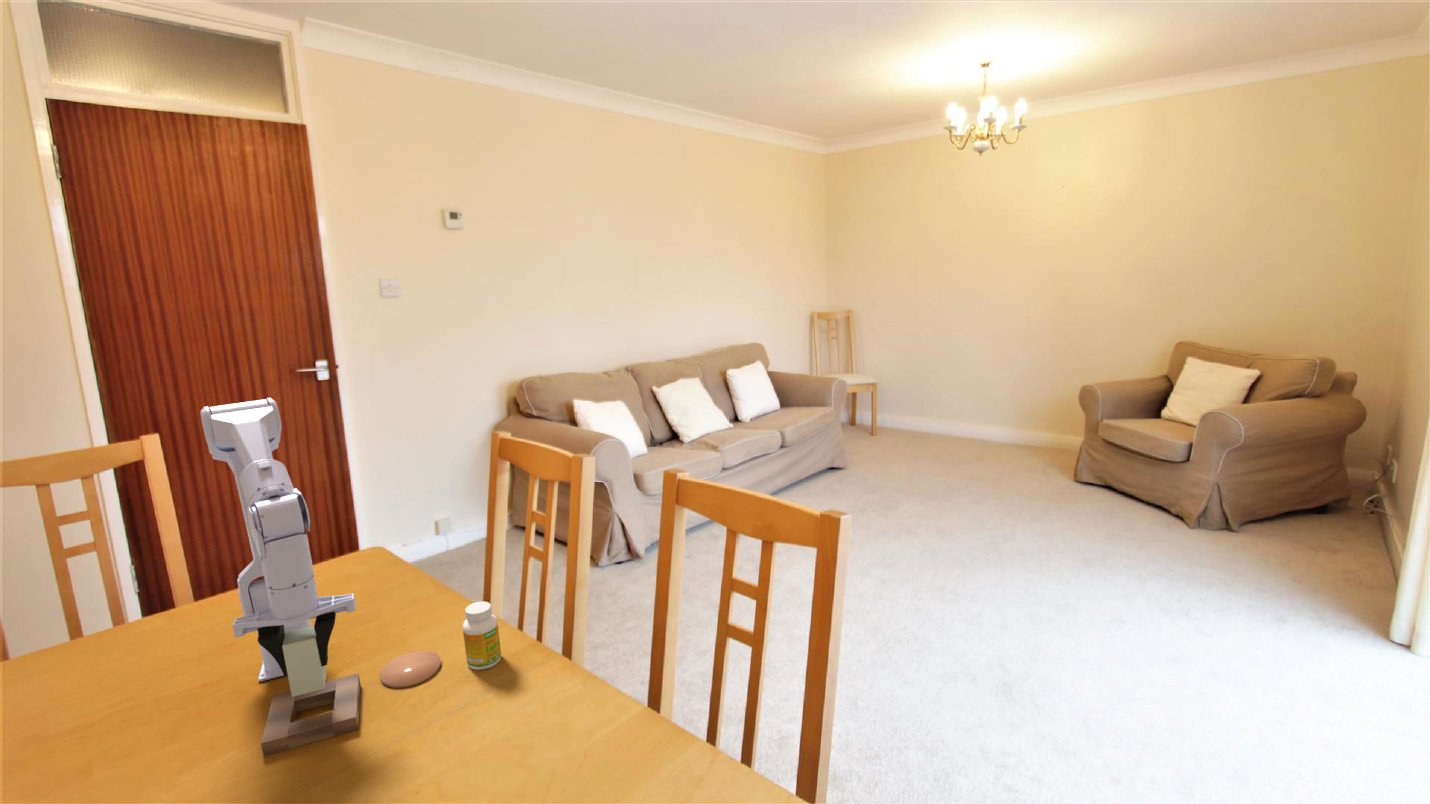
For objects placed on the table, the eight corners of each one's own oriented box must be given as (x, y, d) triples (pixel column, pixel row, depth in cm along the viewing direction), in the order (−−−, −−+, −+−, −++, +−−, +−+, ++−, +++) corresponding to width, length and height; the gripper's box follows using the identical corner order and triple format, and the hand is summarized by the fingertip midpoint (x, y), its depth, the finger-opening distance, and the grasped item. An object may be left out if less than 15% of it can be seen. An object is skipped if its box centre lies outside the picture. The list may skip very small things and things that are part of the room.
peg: (295, 681, 98) (285, 631, 97) (326, 673, 100) (317, 624, 98) (291, 697, 95) (282, 646, 93) (324, 688, 96) (315, 638, 95)
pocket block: (275, 707, 101) (273, 695, 101) (360, 684, 106) (358, 673, 106) (263, 756, 91) (260, 743, 91) (358, 729, 96) (356, 716, 95)
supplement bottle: (490, 672, 108) (484, 617, 106) (460, 669, 109) (453, 614, 107) (507, 653, 113) (501, 600, 111) (478, 650, 114) (472, 597, 112)
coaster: (380, 663, 111) (379, 660, 111) (438, 648, 115) (438, 645, 115) (380, 694, 103) (379, 691, 103) (443, 677, 107) (442, 674, 107)
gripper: (221, 605, 87) (240, 698, 90) (347, 579, 93) (362, 667, 96) (231, 582, 93) (249, 669, 96) (350, 559, 99) (363, 642, 102)
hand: (306, 666), depth 97 cm, fingers closed on peg, 4 cm apart
